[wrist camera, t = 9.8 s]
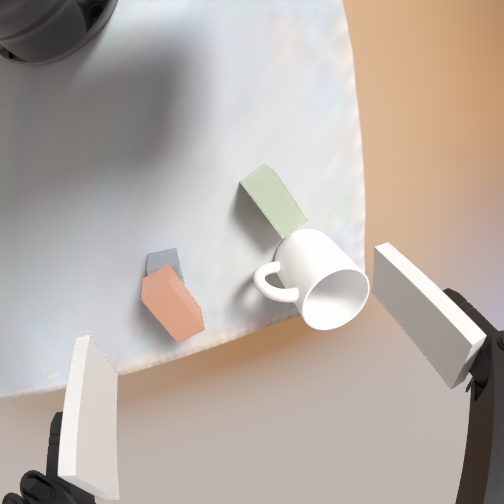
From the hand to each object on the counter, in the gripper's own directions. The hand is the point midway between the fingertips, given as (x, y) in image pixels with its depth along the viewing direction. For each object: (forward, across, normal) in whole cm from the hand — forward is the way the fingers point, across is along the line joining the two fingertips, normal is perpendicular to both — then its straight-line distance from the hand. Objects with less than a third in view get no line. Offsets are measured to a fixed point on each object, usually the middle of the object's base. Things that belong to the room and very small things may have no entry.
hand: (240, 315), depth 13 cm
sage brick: (+24, +8, -5) cm, 26 cm away
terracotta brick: (+19, -6, -12) cm, 24 cm away
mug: (+24, +9, -14) cm, 29 cm away
